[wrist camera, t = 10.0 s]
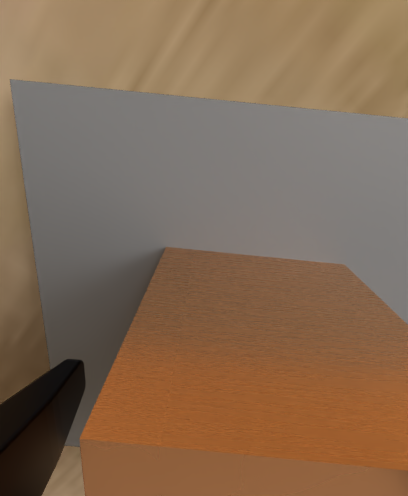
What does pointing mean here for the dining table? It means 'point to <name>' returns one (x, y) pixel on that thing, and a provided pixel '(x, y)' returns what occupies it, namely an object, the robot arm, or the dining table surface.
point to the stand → (195, 201)
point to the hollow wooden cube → (253, 385)
